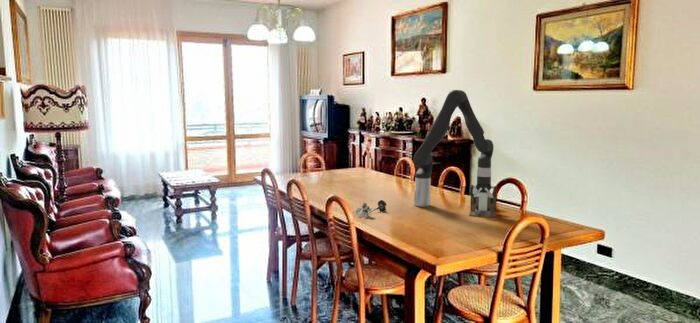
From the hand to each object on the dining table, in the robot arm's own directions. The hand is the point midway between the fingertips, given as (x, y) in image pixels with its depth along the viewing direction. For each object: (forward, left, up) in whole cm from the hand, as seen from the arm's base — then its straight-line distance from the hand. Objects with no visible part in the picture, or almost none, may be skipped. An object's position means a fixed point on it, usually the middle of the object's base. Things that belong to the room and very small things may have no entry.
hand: (483, 203), depth 266 cm
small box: (-2, +20, -6) cm, 21 cm away
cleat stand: (0, 0, -6) cm, 6 cm away
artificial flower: (-60, -16, -7) cm, 63 cm away
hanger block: (0, 0, -5) cm, 5 cm away
